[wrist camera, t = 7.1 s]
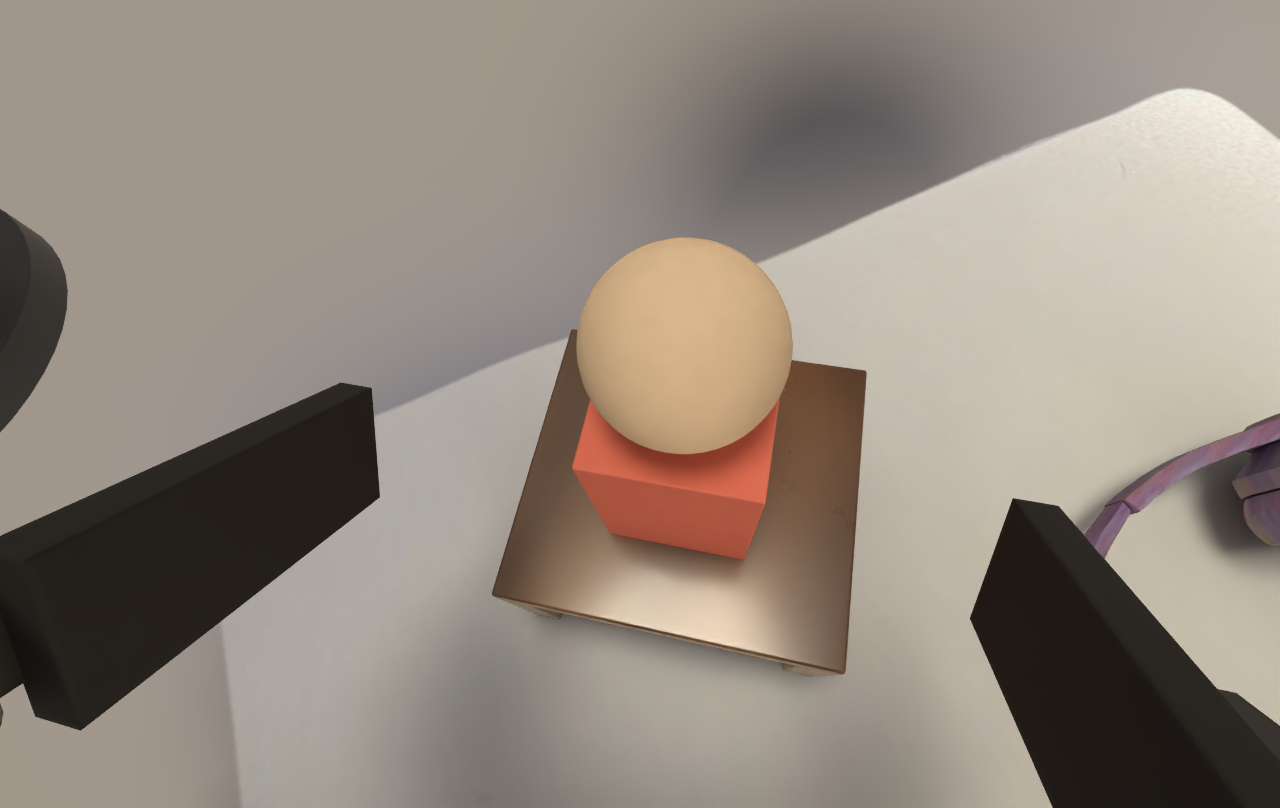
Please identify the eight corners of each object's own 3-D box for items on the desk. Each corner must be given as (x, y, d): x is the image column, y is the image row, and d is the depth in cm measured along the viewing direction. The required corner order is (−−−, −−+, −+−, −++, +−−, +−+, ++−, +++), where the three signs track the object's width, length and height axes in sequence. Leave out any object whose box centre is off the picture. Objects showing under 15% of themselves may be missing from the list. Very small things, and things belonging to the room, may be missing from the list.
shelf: (534, 613, 26) (490, 595, 21) (594, 392, 31) (571, 328, 25) (812, 677, 24) (846, 674, 19) (834, 430, 29) (867, 370, 23)
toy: (609, 533, 21) (521, 385, 11) (640, 403, 23) (592, 170, 13) (744, 560, 21) (793, 429, 10) (763, 423, 23) (822, 192, 12)
